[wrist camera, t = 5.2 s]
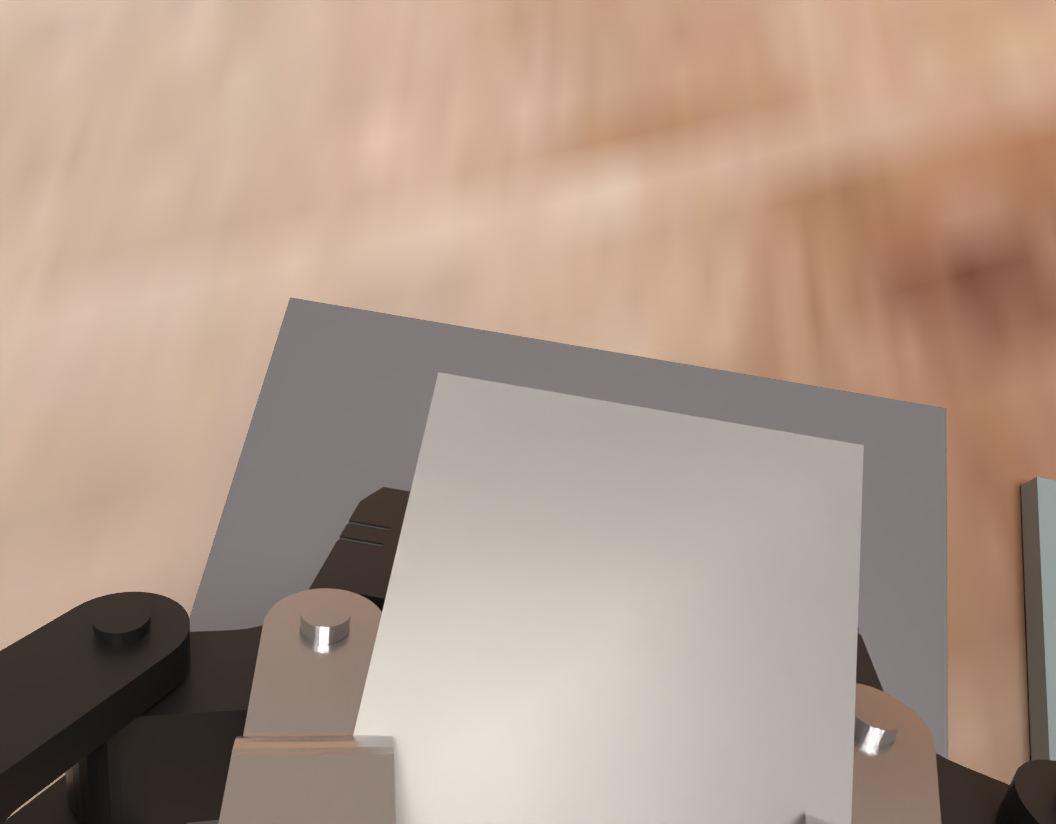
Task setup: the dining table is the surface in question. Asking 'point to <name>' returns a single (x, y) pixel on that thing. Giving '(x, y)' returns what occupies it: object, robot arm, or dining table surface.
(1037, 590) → the mat
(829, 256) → the dining table surface
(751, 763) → the plug
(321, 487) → the socket box
